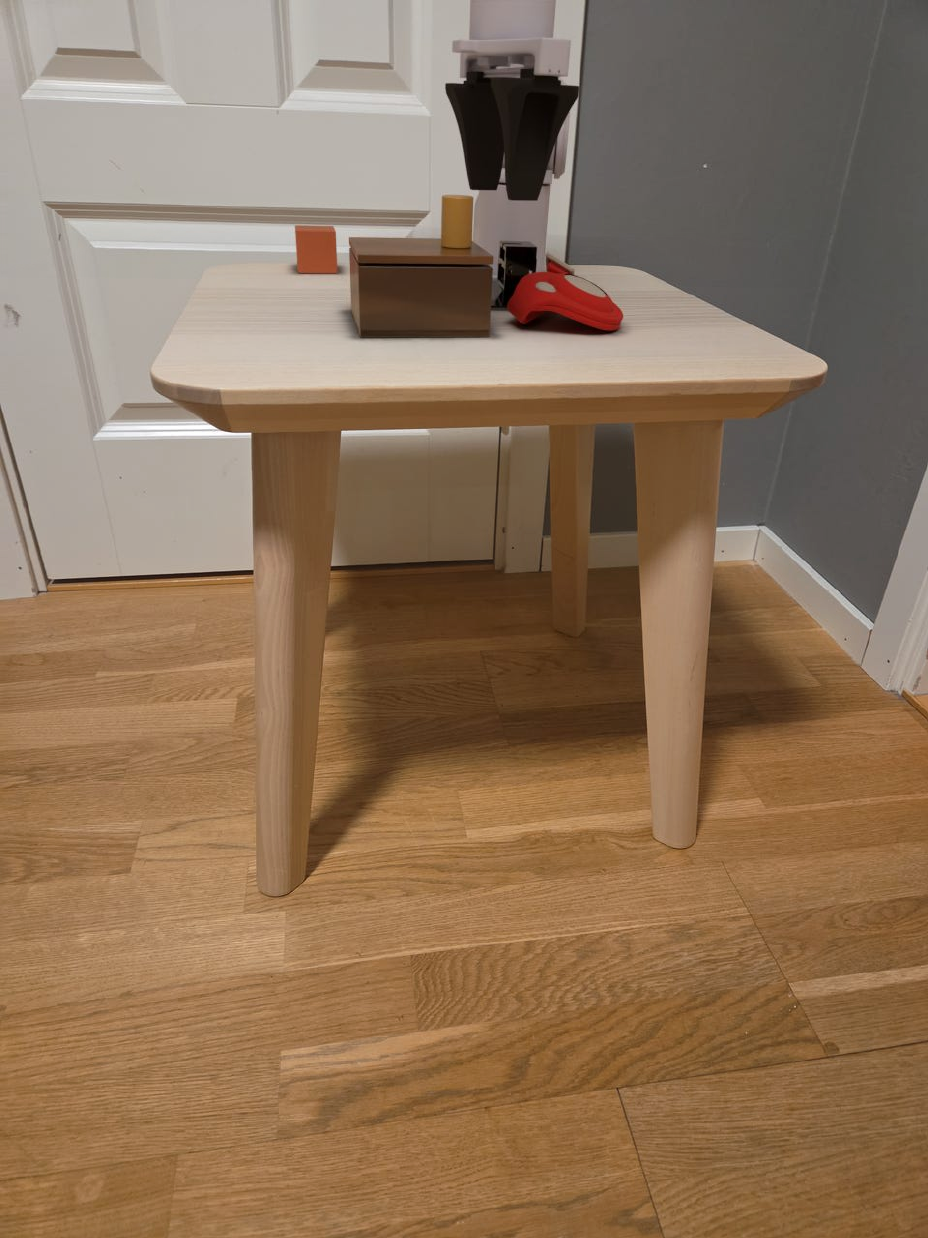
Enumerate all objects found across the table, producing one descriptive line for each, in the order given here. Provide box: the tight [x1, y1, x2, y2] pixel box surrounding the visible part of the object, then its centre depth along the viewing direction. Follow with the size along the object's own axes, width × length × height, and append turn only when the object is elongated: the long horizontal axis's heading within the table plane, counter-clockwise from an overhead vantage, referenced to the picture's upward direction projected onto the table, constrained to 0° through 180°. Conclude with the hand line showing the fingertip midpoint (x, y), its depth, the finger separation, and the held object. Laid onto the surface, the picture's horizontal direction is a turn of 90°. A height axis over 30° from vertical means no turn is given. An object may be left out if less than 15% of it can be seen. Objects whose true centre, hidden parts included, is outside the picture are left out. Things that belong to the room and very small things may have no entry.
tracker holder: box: [506, 252, 624, 331], centre depth 68 cm, size 12×4×10 cm
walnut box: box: [348, 247, 493, 338], centre depth 65 cm, size 9×10×5 cm
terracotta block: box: [294, 224, 338, 274], centre depth 85 cm, size 4×4×4 cm
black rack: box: [491, 241, 537, 310], centre depth 77 cm, size 12×7×5 cm, turn 7°
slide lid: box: [348, 194, 494, 265], centre depth 62 cm, size 9×10×4 cm
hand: (502, 194), depth 61 cm, fingers open, 7 cm apart
